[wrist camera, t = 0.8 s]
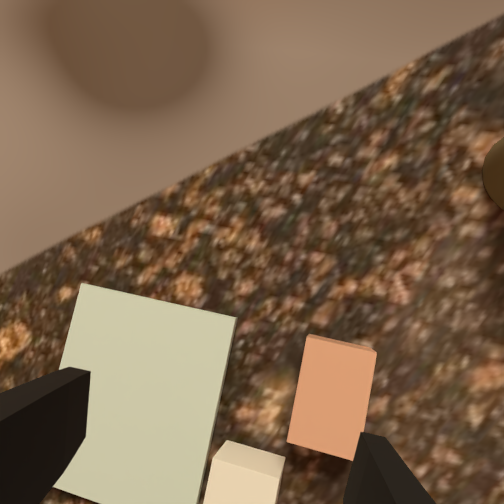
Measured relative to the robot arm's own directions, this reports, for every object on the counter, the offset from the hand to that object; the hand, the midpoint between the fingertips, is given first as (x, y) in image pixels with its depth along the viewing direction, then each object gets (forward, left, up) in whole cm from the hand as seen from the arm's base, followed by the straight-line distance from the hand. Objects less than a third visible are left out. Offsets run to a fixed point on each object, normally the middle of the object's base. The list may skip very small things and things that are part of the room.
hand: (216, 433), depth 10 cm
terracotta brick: (-1, -3, -17) cm, 17 cm away
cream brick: (-9, +1, -17) cm, 19 cm away
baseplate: (-5, +10, -17) cm, 20 cm away
